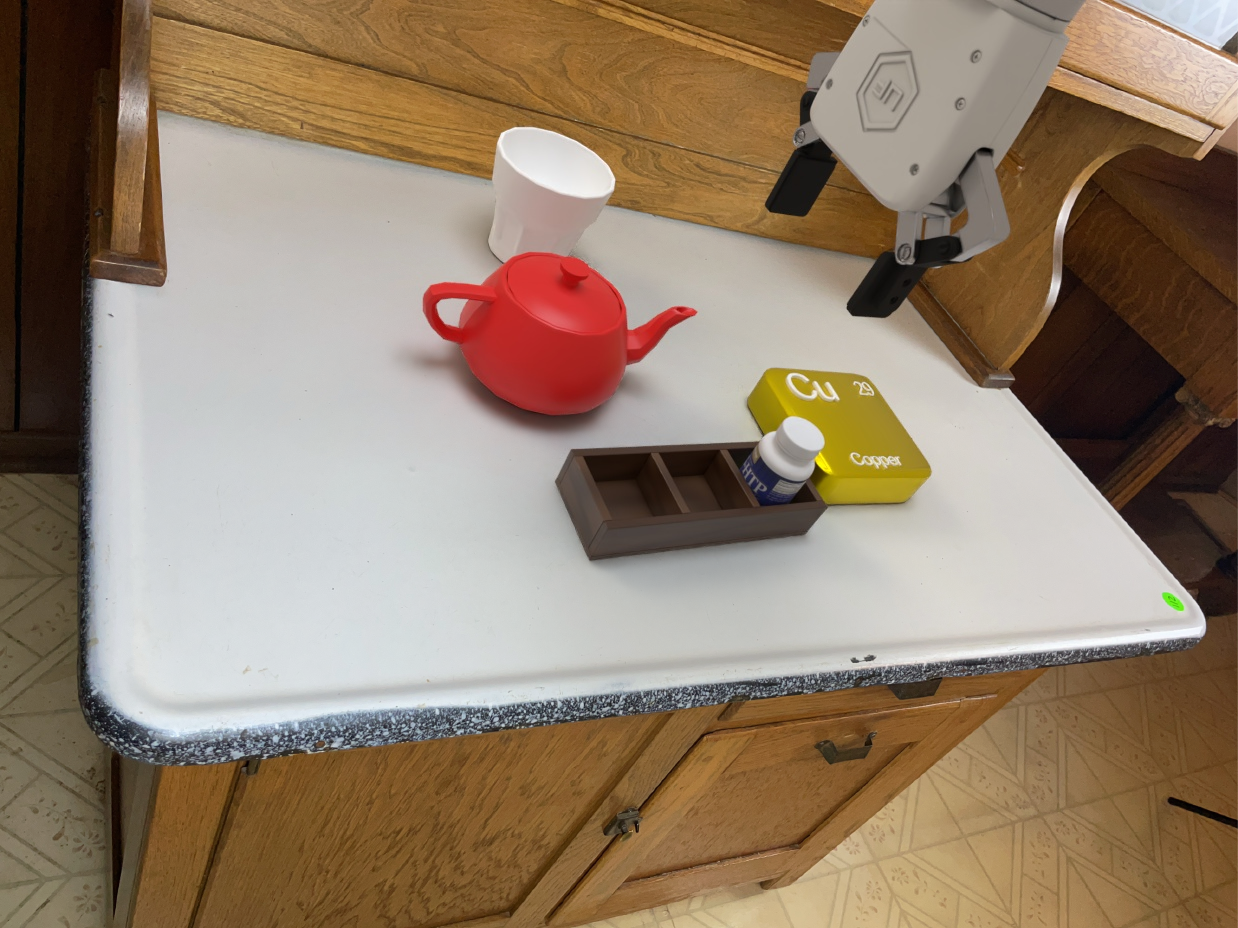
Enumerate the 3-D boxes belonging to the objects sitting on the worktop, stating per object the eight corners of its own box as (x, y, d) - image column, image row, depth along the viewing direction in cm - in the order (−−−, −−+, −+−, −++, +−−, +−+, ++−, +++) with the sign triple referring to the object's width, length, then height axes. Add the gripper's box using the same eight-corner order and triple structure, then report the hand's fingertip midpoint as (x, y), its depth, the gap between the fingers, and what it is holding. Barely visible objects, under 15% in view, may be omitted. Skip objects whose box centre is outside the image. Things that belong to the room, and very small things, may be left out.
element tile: (802, 506, 81) (828, 473, 78) (739, 394, 89) (761, 360, 86) (915, 504, 88) (943, 473, 85) (847, 400, 97) (870, 369, 93)
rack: (805, 534, 78) (828, 507, 76) (589, 560, 66) (607, 529, 64) (764, 467, 83) (784, 439, 80) (554, 481, 71) (570, 448, 68)
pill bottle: (719, 476, 78) (766, 408, 72) (765, 476, 81) (814, 411, 75) (742, 523, 75) (793, 455, 69) (789, 521, 77) (842, 456, 72)
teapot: (417, 424, 69) (453, 307, 61) (396, 302, 79) (424, 186, 71) (682, 442, 81) (741, 345, 73) (636, 333, 90) (684, 237, 82)
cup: (469, 205, 95) (496, 112, 87) (575, 235, 99) (609, 149, 92) (468, 270, 86) (498, 174, 79) (584, 300, 90) (622, 211, 83)
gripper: (859, -133, 43) (710, 171, 54) (1094, 32, 33) (853, 358, 44) (957, -89, 47) (799, 185, 58) (1191, 70, 37) (947, 360, 48)
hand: (823, 260), depth 51 cm, fingers open, 9 cm apart
